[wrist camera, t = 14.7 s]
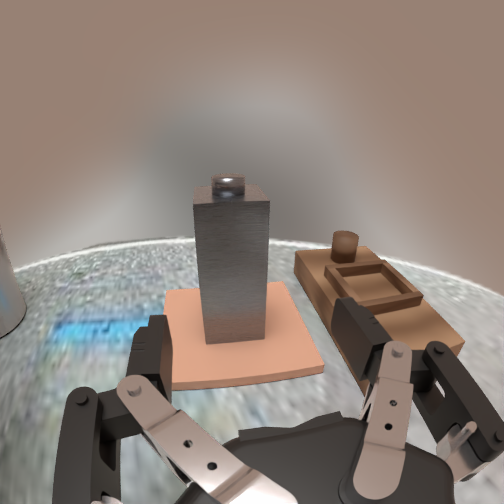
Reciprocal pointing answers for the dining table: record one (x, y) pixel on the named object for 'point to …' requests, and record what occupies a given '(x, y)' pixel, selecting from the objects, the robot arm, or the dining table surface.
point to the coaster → (239, 345)
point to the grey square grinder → (232, 258)
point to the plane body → (370, 294)
